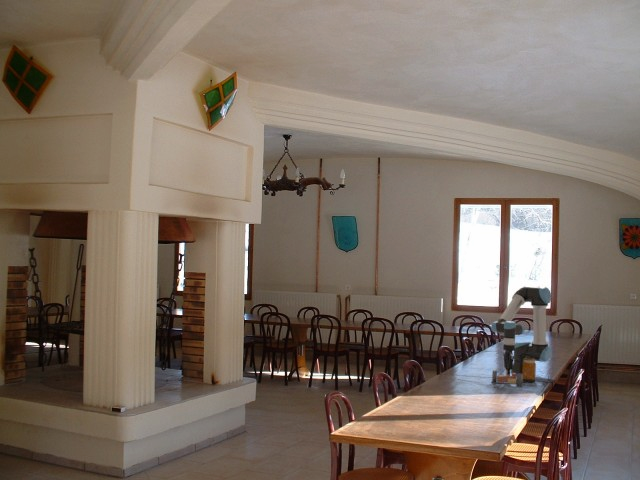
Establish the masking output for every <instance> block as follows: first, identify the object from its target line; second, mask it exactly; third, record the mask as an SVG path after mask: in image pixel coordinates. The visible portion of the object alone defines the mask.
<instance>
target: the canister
mask: <svg viewBox="0 0 640 480" xmlns="http://www.w3.org/2000/svg"><path fill="white" fill-rule="evenodd" d="M523 355H524V356H523ZM519 356H520V373H519V374H523V382H524V383H527V384H528V383H530V384H532V383H533V384H534V383H535V382H536V375H537V374H536V371H537V369H536V368H537V364H536V361H535V359H533V358H532V357H533V356H535V354H533V353H526V352H524V353H523V354H521V355H519ZM521 356H523V357H521ZM522 359H523V363H522Z"/></svg>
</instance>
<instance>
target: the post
mask: <svg viewBox="0 0 640 480" xmlns="http://www.w3.org/2000/svg"><path fill="white" fill-rule="evenodd" d="M497 373H498V371H497V370H492V375H491V376H492V379H491V380H492V381H491V382H490V383H492V384H498V382H497V376H498V374H497Z"/></svg>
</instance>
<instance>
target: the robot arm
mask: <svg viewBox="0 0 640 480" xmlns="http://www.w3.org/2000/svg"><path fill="white" fill-rule="evenodd" d="M551 301H552V292H551V290H550V289H549V288H548V287H547V286H541V285H539V286H536V285H532V286H531V285H526V286H523V287H521V288H519V289H518V290H516V292H514V293H513V295H512V297H511V301H510V302H509V303H508V305H507V307H505V310H504V311H503V313H502V314H501V316H500V317H499V319H498V320H497V321H493V322H492V323H491V325H490V328H491V331H492V332H493V333H496V334H503V339H502V340H503V345H502V346H503V347H502V348H503V349H502V350H504V352H503V354H502V355H503V366H504V367H503V368H504V369H505V376H511V374H512V373H516V375H517V374H519V373H520V356H519V355H521V354H523V353H524V352H526V353H533V354H535V356H533V357H532V358H533V359H535V362H539V363H541V362H542V363H547V362H548V361H549V360H551V356H552V347H551V346H550V345H549V343H548V341H547V319H546V318H547V311H546V310H547V307H548V306H549V304H550V303H551ZM525 303H530V305H531V306H532V309H533V315H532V316H533V317H532V318H533V328H532V329H533V340H532V341H531V342H530V341H518V342H516V336H521V335H523V334H524V333H525V326H524V325H523V324H522V323H516V322H515V321H513V319H514V317H515V316H516V314H517V312H519V310H520V309H521V306H524V305H525ZM523 356H524V355H523ZM523 356H521V357H523ZM522 363H523V359H522Z"/></svg>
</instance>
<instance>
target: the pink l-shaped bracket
mask: <svg viewBox="0 0 640 480" xmlns="http://www.w3.org/2000/svg"><path fill="white" fill-rule="evenodd" d="M508 378H510V379H517V374H516V373H511V375H510V376H506V375H497V383H508Z"/></svg>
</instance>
